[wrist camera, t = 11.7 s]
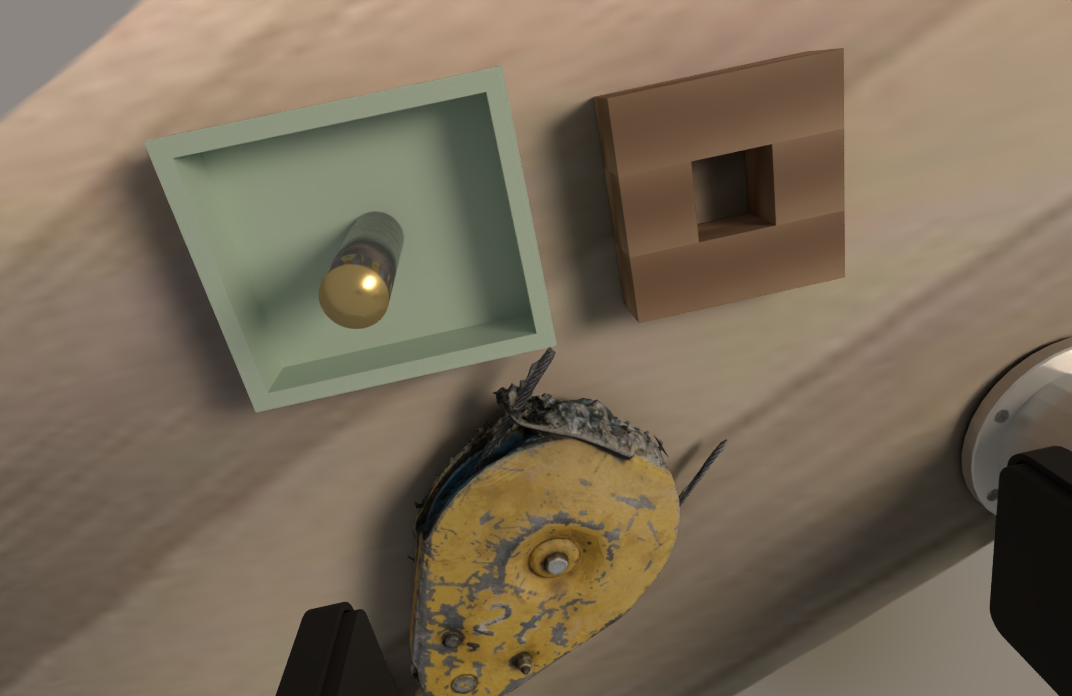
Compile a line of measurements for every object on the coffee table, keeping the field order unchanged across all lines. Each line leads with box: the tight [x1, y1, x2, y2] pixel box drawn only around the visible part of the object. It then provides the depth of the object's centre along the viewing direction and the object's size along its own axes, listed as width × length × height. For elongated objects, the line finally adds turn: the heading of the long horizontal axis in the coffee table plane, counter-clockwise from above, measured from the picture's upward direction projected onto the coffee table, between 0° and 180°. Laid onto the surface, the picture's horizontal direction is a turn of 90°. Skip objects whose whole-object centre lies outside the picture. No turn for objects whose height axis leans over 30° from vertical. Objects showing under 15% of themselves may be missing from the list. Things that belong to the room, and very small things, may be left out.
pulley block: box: [408, 347, 727, 696], centre depth 37 cm, size 14×6×30 cm
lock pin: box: [319, 211, 404, 329], centre depth 26 cm, size 2×2×8 cm
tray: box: [143, 66, 557, 413], centre depth 29 cm, size 12×14×4 cm
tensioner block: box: [594, 48, 845, 323], centre depth 30 cm, size 10×10×3 cm
